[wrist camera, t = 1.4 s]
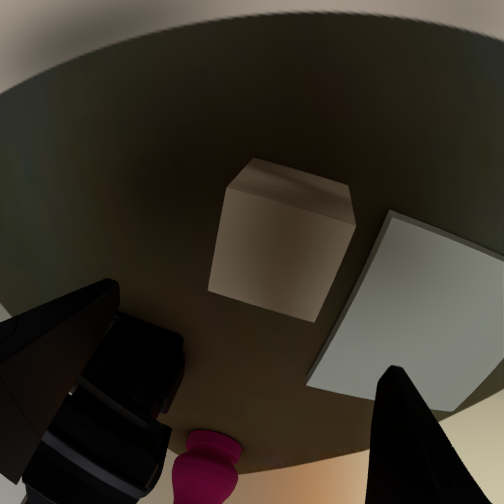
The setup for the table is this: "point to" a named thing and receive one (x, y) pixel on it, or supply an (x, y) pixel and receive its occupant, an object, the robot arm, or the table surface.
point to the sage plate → (418, 317)
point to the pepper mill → (206, 469)
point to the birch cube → (281, 238)
